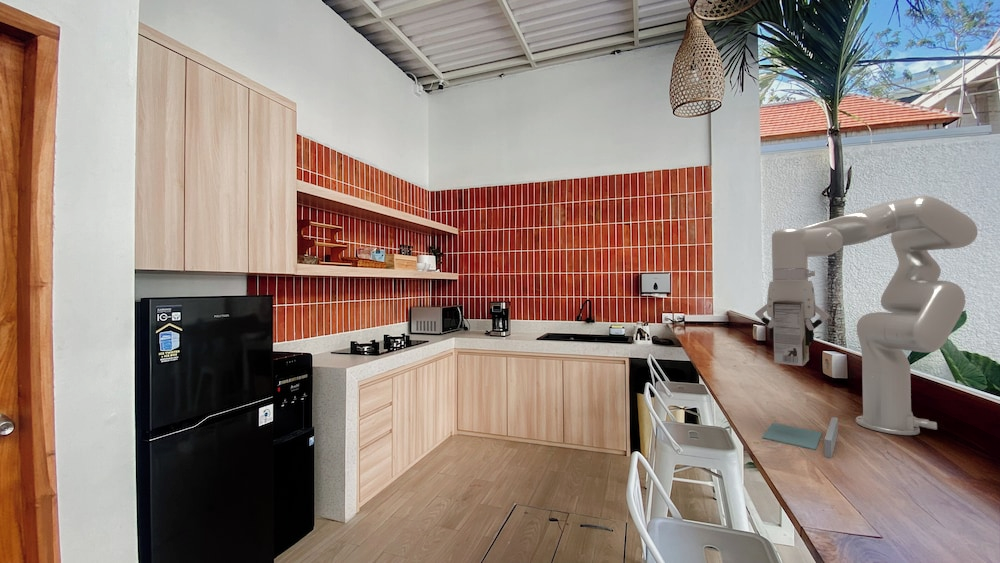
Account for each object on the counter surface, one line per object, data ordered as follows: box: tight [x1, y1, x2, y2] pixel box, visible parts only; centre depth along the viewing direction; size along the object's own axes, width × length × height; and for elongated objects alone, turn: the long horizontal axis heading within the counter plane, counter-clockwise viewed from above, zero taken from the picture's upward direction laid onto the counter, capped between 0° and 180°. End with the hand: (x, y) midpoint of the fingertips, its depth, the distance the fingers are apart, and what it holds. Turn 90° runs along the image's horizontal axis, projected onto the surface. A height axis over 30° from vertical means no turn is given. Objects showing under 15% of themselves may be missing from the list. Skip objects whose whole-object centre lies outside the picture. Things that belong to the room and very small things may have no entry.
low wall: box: [824, 417, 839, 459], centre depth 99 cm, size 1×20×4 cm, turn 136°
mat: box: [761, 422, 823, 451], centre depth 104 cm, size 11×14×1 cm
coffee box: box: [773, 301, 810, 367], centre depth 104 cm, size 9×6×16 cm
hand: (791, 343), depth 104 cm, fingers closed on coffee box, 6 cm apart
